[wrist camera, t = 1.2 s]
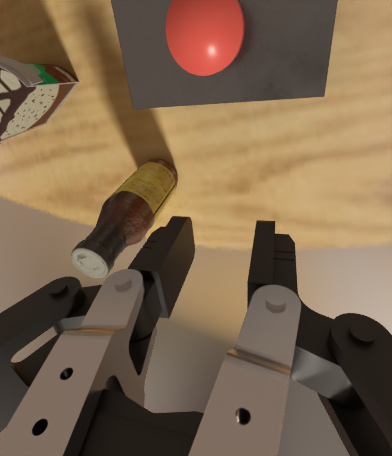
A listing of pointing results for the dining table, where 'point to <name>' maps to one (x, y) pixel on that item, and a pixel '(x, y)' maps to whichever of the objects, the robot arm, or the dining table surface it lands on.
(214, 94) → the console
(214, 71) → the red button
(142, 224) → the sauce bottle
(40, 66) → the food container
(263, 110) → the dining table surface
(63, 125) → the dining table surface
